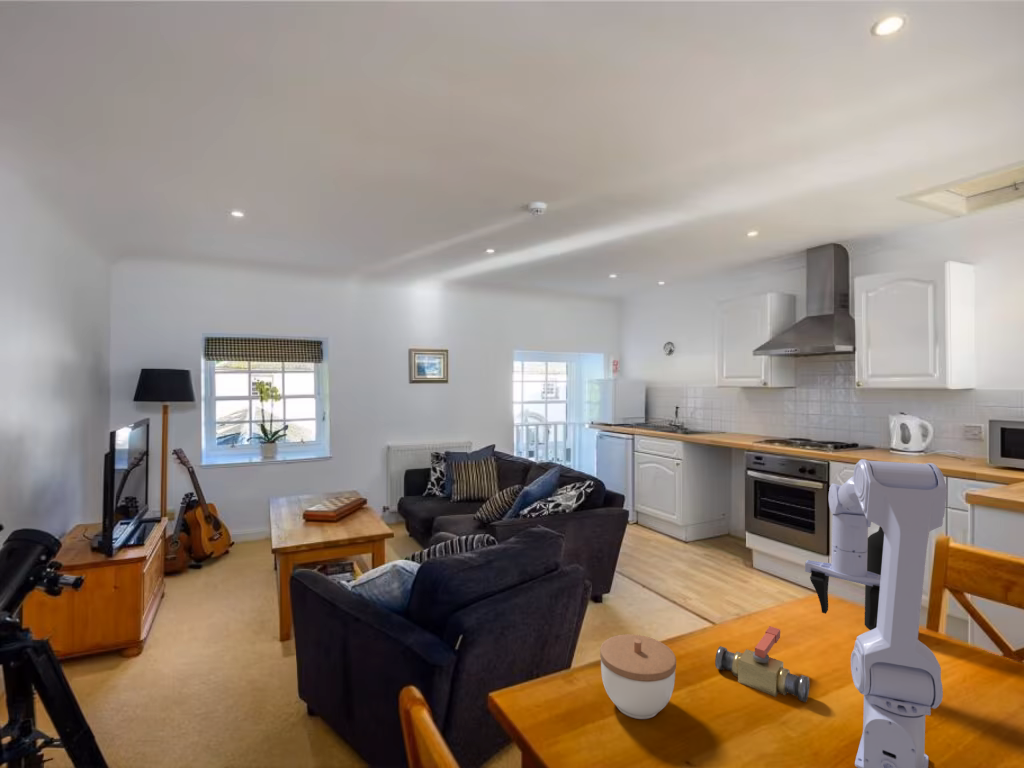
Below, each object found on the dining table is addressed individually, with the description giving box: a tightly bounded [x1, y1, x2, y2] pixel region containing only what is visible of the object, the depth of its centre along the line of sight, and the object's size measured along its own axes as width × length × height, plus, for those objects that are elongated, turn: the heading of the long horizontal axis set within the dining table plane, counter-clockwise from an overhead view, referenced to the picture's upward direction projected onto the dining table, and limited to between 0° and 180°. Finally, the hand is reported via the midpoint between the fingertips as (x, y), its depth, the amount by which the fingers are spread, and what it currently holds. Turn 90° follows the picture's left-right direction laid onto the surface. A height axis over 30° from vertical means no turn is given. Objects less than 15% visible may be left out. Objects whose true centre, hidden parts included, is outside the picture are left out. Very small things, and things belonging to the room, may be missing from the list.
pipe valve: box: [714, 645, 810, 703], centre depth 93 cm, size 15×5×4 cm, turn 49°
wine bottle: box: [864, 526, 884, 631], centre depth 113 cm, size 8×8×30 cm
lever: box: [753, 626, 781, 663], centre depth 96 cm, size 11×3×2 cm, turn 139°
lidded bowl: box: [599, 633, 677, 720], centre depth 86 cm, size 13×13×11 cm
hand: (847, 617), depth 97 cm, fingers open, 7 cm apart
